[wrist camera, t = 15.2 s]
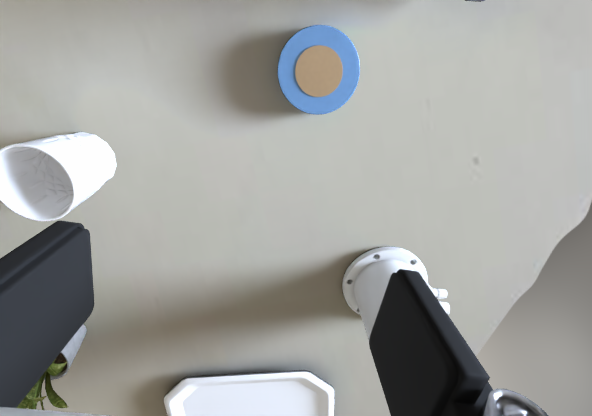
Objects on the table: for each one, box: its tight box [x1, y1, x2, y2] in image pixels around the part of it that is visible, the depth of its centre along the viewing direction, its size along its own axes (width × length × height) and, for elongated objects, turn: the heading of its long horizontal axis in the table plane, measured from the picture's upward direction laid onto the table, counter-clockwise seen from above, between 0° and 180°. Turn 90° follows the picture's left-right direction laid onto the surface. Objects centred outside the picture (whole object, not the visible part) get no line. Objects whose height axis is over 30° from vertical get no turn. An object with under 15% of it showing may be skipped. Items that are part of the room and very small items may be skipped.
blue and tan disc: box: [278, 25, 360, 114], centre depth 37 cm, size 9×9×2 cm
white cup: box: [0, 132, 117, 221], centre depth 36 cm, size 8×8×10 cm
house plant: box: [17, 324, 87, 410], centre depth 43 cm, size 14×14×16 cm
